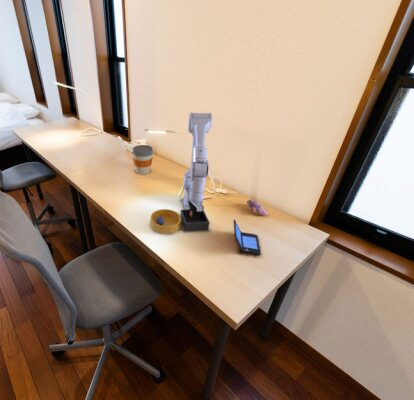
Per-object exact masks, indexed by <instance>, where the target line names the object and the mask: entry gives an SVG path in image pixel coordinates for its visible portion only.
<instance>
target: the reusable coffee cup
mask: <svg viewBox="0 0 414 400" xmlns="http://www.w3.org/2000/svg"><path fill="white" fill-rule="evenodd" d="M153 154H154V149H153V147H152V146H151V145H149V144H148V145H147V144H138V145H135V146H133V147H132V155H133V157H132V159H133V160H132V161H133V165H134V169H135V173H136V174H139V175H147V174H149V173H150V172H151V167H152V165H153Z"/></svg>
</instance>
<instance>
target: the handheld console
mask: <svg viewBox="0 0 414 400" xmlns="http://www.w3.org/2000/svg"><path fill="white" fill-rule="evenodd" d="M233 231H234V233H233V235H234V239H235V241H236V243H237V245H238V247H239V251H240V252H239V253H240V254H246V255H250V256H251V255H253V256H261V254H262V253H261V246H260V240H259V236H258V234H255V233H249V232H242V230H241V229H240V227H239V225H238V223H237V221H236V219H233Z"/></svg>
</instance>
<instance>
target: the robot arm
mask: <svg viewBox="0 0 414 400" xmlns="http://www.w3.org/2000/svg"><path fill="white" fill-rule="evenodd" d="M212 124H213V114H212V113H211V112H209V113H208V112H207V113H206V112H190V113H189V114H188V123H187V125H188V126H187V127H188V128H187V131H188V133H190V134H191V135H192V136H191V137H192V146H191V160H190V169H188V170H187V171H186V172H185V173H184V175H183V176H184V177H183V185H182V187H183V189H184V191H183V198H181V202H182V204H183V207H184V210H187V209H190V212H191V211H192V219H197V218H198V216H199V214H200V212H201V211H202V210H204V208H205V207H204V205H203V203H204V193H205V187H206V181H207V180H206V179H207V178H208V175H209V170H210V167H209V166H210V165H209V160H208V147H207V146H206V145H205V143H206V135H207V134H208V133H209V132H210V130H211V127H212Z"/></svg>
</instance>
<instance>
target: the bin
mask: <svg viewBox="0 0 414 400" xmlns="http://www.w3.org/2000/svg"><path fill="white" fill-rule="evenodd" d="M179 215H180V217H181V224H182V229H183V232H206V231H209V228H210V221H209V218H208V215H207V214H206V212H205V210H204V209H203V210H202V211H201V212H200V214H199V216H198V218H197V219H192V218H191V217H190V209H180V214H179Z"/></svg>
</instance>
